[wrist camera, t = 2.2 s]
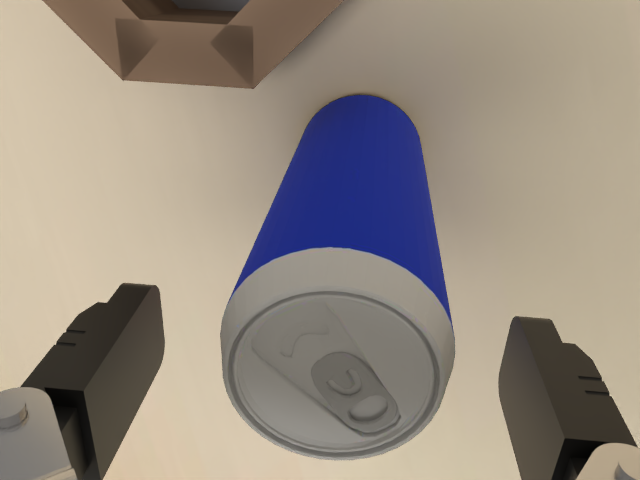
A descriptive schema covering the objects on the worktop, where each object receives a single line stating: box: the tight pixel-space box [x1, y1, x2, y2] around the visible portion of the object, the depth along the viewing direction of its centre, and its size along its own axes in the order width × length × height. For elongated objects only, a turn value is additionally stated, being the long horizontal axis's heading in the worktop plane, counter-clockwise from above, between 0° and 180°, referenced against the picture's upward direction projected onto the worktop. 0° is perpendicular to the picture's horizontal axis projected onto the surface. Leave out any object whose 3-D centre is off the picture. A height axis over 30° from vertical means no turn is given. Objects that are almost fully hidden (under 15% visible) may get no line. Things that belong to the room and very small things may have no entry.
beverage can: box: [220, 95, 455, 460], centre depth 18 cm, size 5×5×15 cm
